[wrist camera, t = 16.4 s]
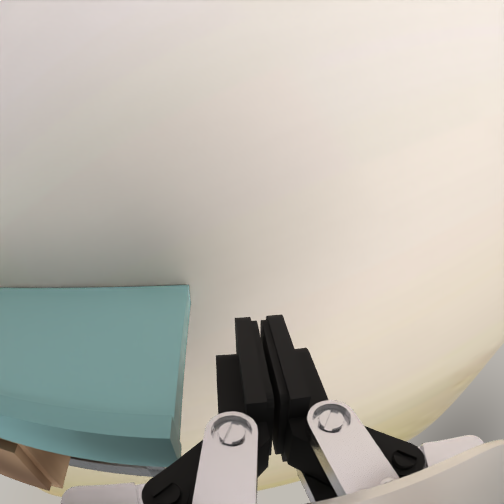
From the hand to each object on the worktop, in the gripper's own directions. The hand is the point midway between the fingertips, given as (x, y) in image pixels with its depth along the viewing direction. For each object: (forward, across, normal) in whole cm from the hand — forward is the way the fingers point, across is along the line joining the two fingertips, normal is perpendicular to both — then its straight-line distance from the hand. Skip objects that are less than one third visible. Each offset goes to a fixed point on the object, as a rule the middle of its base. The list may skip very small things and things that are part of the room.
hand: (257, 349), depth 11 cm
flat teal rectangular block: (+4, +10, 0) cm, 11 cm away
